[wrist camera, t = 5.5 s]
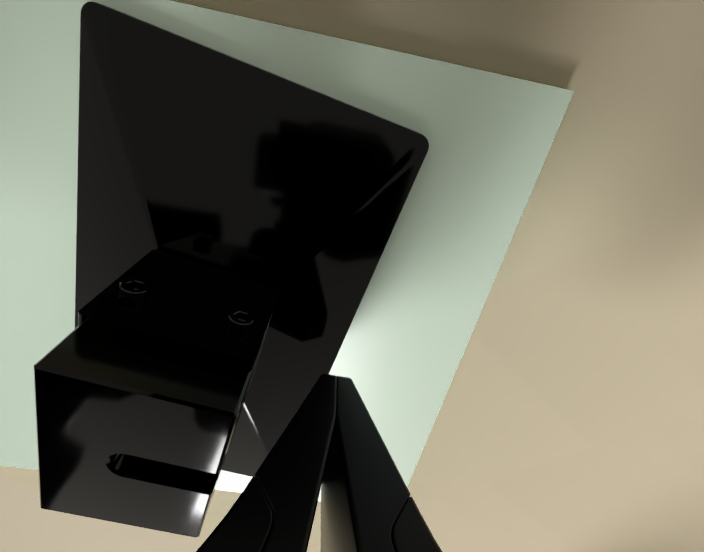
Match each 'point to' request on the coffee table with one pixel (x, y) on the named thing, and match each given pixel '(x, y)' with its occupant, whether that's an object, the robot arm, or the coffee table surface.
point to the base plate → (401, 249)
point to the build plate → (203, 268)
